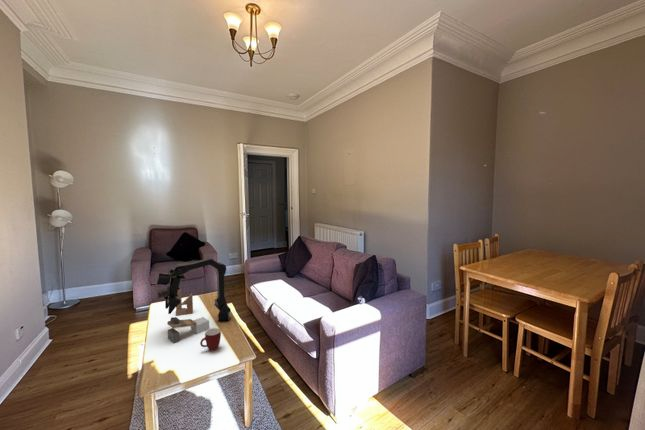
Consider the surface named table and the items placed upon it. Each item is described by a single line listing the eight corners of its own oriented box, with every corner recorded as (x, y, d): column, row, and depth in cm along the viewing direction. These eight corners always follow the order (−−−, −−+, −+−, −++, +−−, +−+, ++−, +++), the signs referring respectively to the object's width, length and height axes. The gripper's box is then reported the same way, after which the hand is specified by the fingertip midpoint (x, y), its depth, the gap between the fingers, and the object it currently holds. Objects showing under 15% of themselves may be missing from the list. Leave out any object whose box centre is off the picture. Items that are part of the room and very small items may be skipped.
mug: (202, 356, 142) (202, 338, 142) (199, 349, 149) (198, 332, 148) (223, 349, 149) (222, 332, 148) (218, 343, 155) (218, 326, 154)
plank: (190, 321, 169) (191, 314, 170) (196, 325, 164) (197, 318, 165) (167, 323, 159) (168, 316, 159) (172, 328, 154) (174, 321, 154)
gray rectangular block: (203, 325, 176) (202, 316, 176) (209, 328, 171) (209, 320, 171) (167, 338, 160) (167, 329, 159) (173, 343, 155) (173, 334, 154)
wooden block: (192, 313, 192) (191, 289, 191) (175, 315, 189) (174, 291, 187) (193, 311, 196) (192, 287, 194) (176, 313, 192) (175, 289, 191)
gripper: (156, 280, 164) (150, 306, 163) (162, 289, 150) (154, 317, 149) (176, 281, 172) (170, 306, 170) (183, 289, 157) (176, 316, 156)
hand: (167, 311), depth 161 cm, fingers open, 9 cm apart
